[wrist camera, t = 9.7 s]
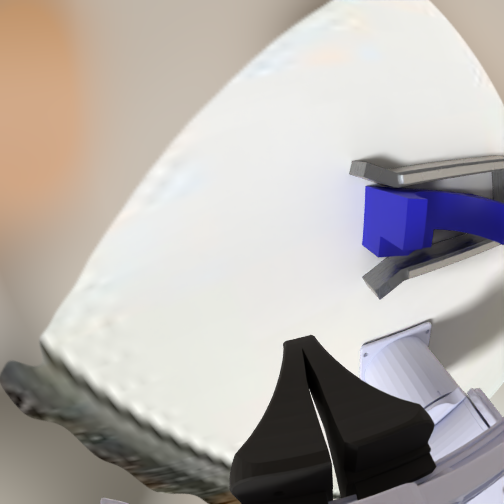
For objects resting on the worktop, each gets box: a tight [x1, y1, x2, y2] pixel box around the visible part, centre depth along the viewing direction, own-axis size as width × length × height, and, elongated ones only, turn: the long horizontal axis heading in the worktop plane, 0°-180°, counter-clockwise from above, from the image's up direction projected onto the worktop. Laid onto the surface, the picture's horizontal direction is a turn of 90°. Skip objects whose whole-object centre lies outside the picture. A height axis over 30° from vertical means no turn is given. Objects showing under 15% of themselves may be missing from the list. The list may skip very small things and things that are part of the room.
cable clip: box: [362, 186, 504, 257], centre depth 17 cm, size 12×4×6 cm, turn 92°
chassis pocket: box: [349, 156, 504, 299], centre depth 18 cm, size 10×17×3 cm, turn 103°
